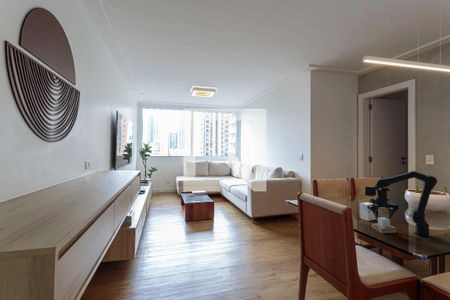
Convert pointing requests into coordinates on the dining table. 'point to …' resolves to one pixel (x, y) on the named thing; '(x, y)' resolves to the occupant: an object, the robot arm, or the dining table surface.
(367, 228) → the dining table surface
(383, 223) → the slate block
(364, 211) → the supplement box
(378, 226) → the tan flat block
